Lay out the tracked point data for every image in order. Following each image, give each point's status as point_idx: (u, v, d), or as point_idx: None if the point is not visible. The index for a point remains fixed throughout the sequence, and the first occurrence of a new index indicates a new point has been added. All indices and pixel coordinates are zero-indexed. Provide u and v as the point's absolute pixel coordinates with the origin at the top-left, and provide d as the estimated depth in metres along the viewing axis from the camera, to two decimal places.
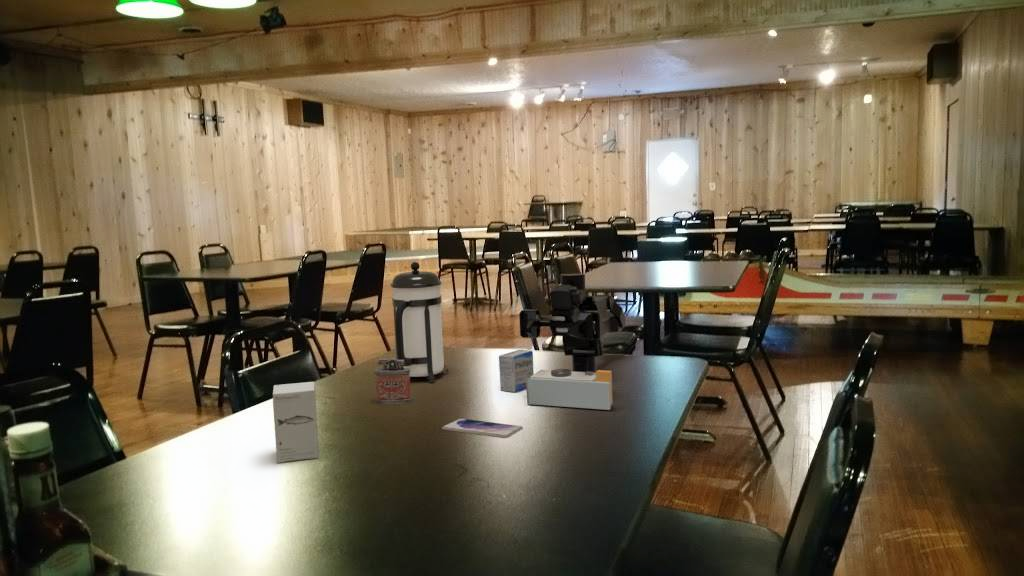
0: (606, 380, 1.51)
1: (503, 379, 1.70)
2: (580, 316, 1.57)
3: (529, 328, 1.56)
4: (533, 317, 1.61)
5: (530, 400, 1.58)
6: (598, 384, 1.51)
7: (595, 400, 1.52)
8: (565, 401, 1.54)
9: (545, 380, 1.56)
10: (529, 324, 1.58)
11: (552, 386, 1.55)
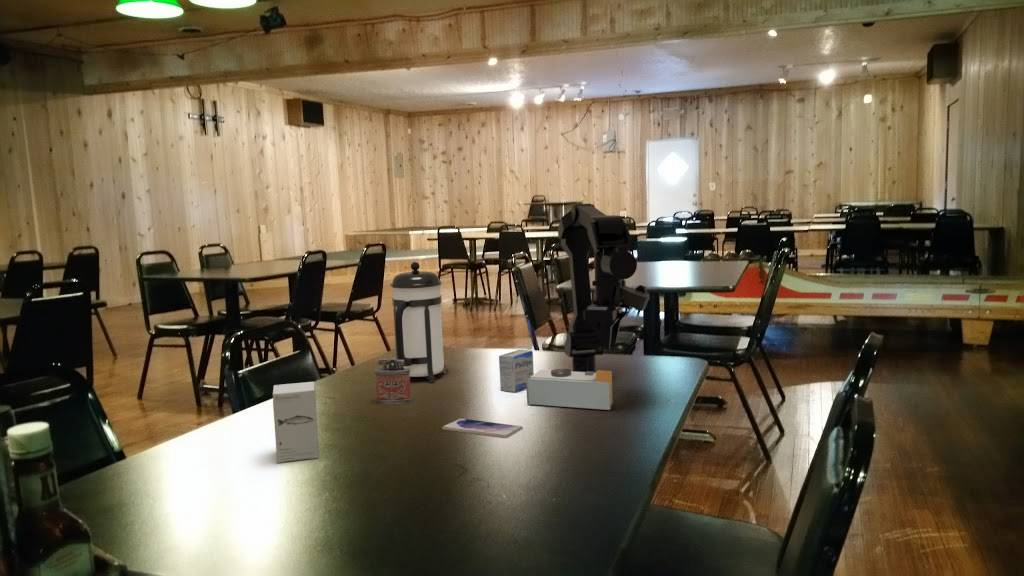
0: (606, 380, 1.51)
1: (503, 379, 1.70)
2: (623, 317, 1.59)
3: None
4: (613, 324, 1.52)
5: (530, 400, 1.58)
6: (598, 384, 1.51)
7: (595, 400, 1.52)
8: (565, 401, 1.54)
9: (545, 380, 1.56)
10: (610, 340, 1.54)
11: (552, 386, 1.55)
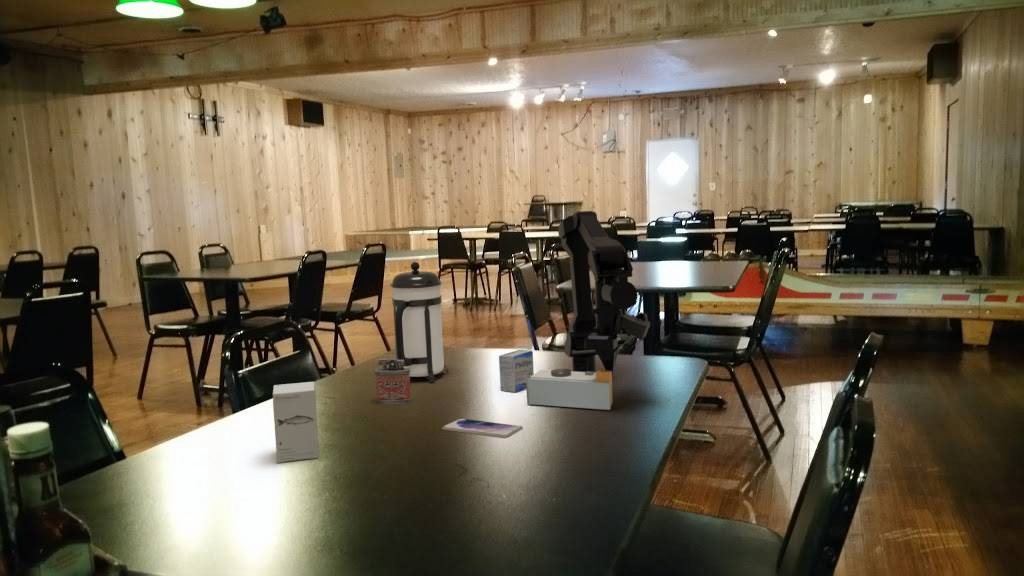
0: (606, 380, 1.51)
1: (503, 379, 1.70)
2: None
3: None
4: None
5: (530, 400, 1.58)
6: (598, 384, 1.51)
7: (595, 400, 1.52)
8: (565, 401, 1.54)
9: (545, 380, 1.56)
10: (613, 365, 1.57)
11: (552, 386, 1.55)
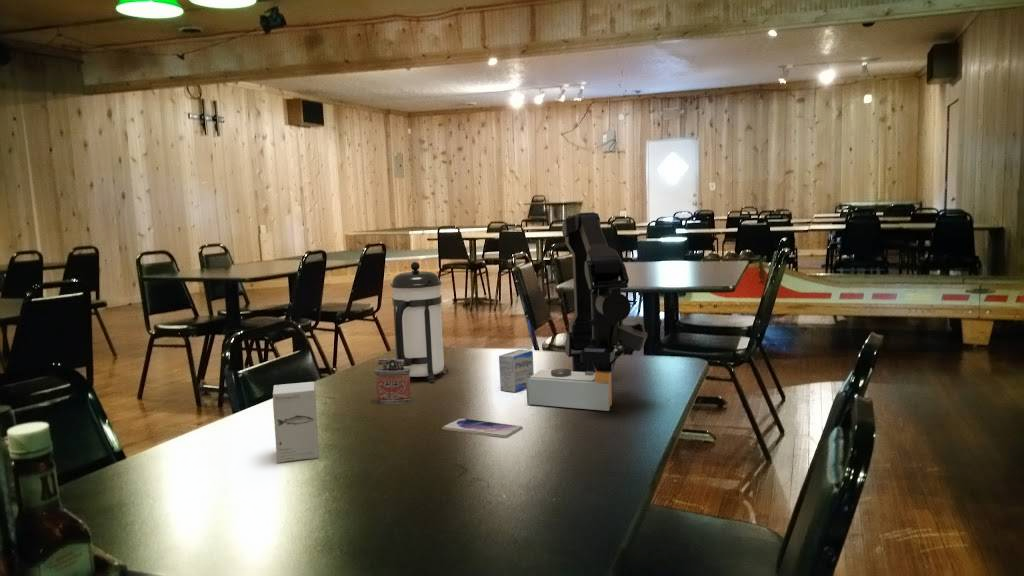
0: (605, 381, 1.51)
1: (503, 379, 1.70)
2: None
3: None
4: None
5: (530, 400, 1.58)
6: (597, 385, 1.51)
7: (594, 401, 1.51)
8: (565, 401, 1.54)
9: (545, 380, 1.56)
10: (611, 377, 1.54)
11: (551, 387, 1.55)
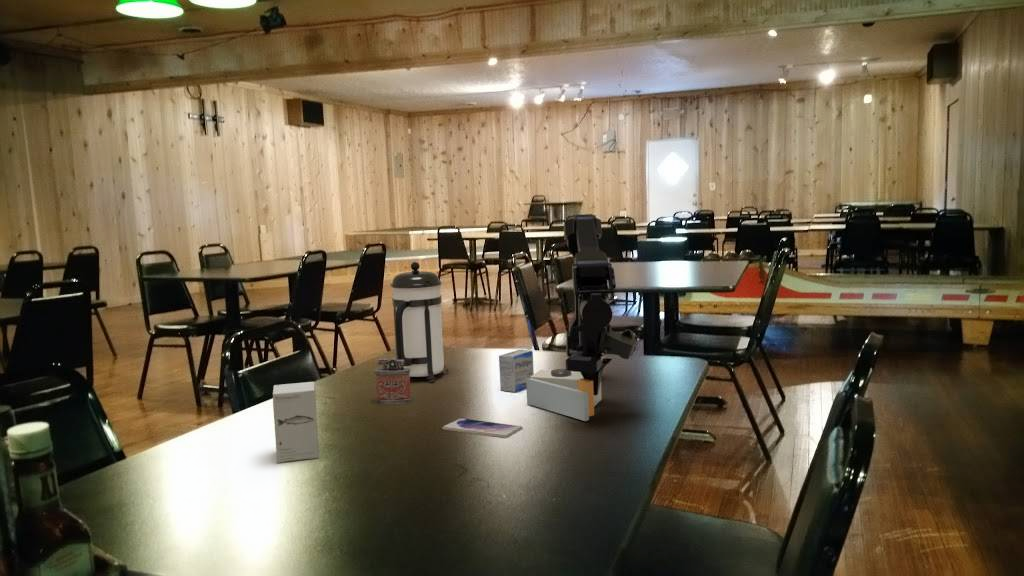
0: (585, 389, 1.44)
1: (503, 379, 1.70)
2: None
3: None
4: None
5: (528, 400, 1.58)
6: (576, 393, 1.45)
7: (575, 409, 1.46)
8: (553, 405, 1.51)
9: (539, 382, 1.54)
10: (598, 385, 1.48)
11: (543, 389, 1.53)
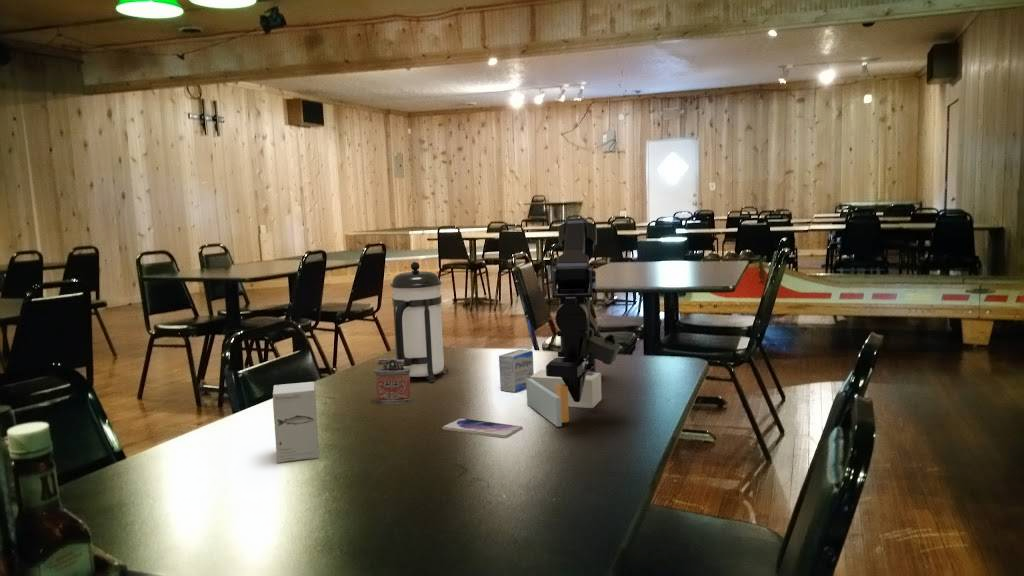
0: (559, 394, 1.41)
1: (503, 379, 1.70)
2: (588, 371, 1.44)
3: None
4: None
5: (527, 400, 1.58)
6: (552, 397, 1.43)
7: (551, 413, 1.44)
8: (540, 408, 1.50)
9: (532, 383, 1.54)
10: (580, 392, 1.43)
11: (535, 391, 1.52)
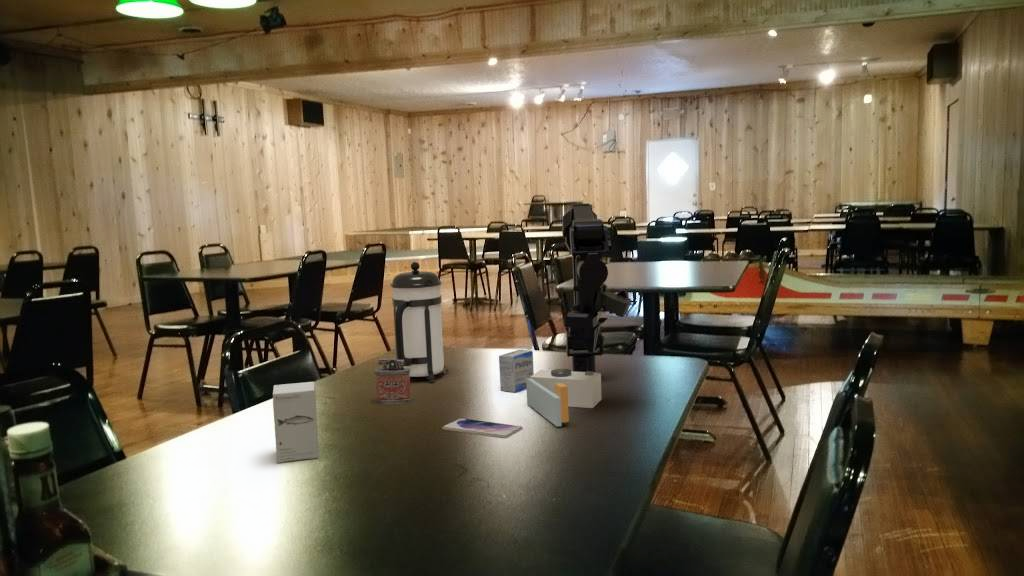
0: (559, 394, 1.41)
1: (503, 379, 1.70)
2: None
3: None
4: None
5: (527, 400, 1.58)
6: (551, 397, 1.43)
7: (551, 413, 1.44)
8: (540, 408, 1.50)
9: (532, 383, 1.54)
10: (594, 343, 1.55)
11: (535, 391, 1.52)
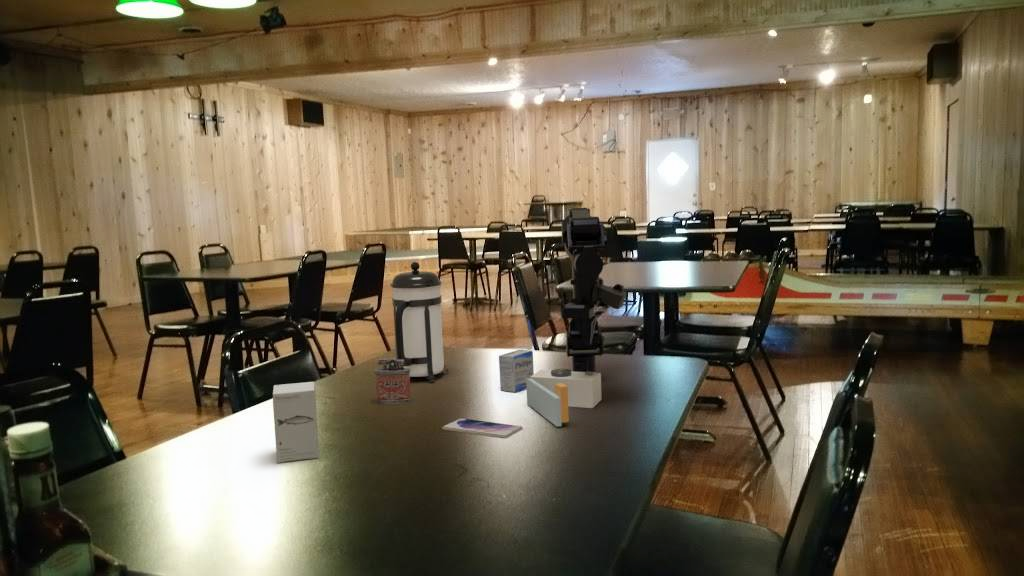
0: (559, 394, 1.41)
1: (503, 379, 1.70)
2: (598, 317, 1.60)
3: None
4: (594, 320, 1.59)
5: (527, 400, 1.58)
6: (551, 397, 1.43)
7: (551, 413, 1.44)
8: (540, 408, 1.50)
9: (532, 383, 1.54)
10: (591, 335, 1.60)
11: (535, 391, 1.52)
